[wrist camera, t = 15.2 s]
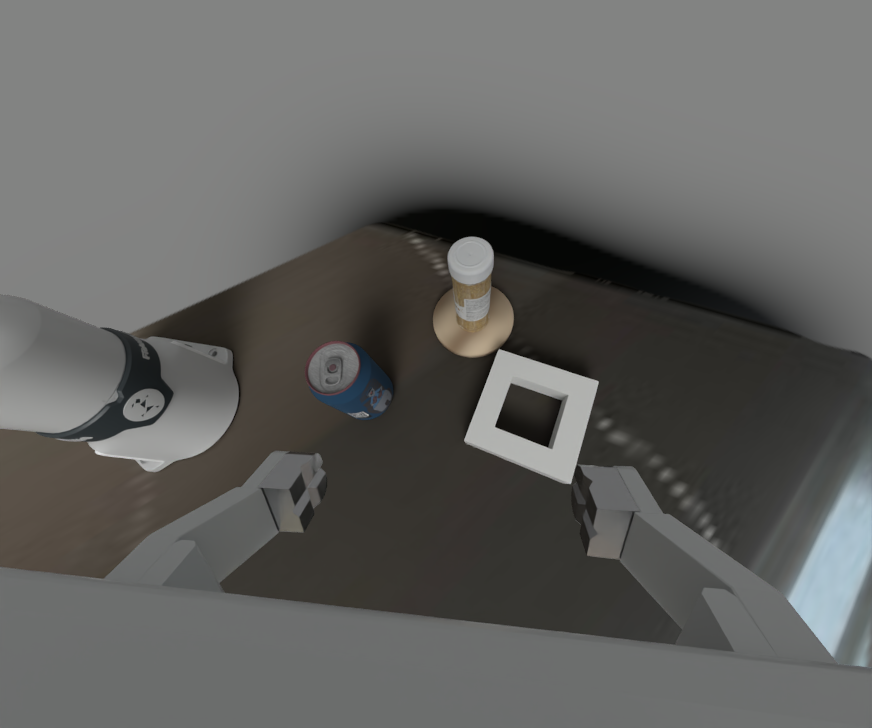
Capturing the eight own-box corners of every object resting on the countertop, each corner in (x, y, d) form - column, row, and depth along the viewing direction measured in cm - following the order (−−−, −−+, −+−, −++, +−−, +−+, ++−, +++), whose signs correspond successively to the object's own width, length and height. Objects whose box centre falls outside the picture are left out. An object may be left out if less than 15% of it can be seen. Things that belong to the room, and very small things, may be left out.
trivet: (422, 342, 44) (420, 339, 43) (451, 279, 47) (450, 274, 46) (497, 368, 41) (497, 365, 40) (523, 299, 44) (524, 294, 43)
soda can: (347, 373, 44) (302, 338, 33) (395, 369, 43) (366, 331, 32) (344, 423, 42) (295, 403, 30) (396, 419, 41) (364, 397, 30)
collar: (465, 442, 39) (464, 440, 36) (497, 357, 42) (498, 349, 39) (563, 483, 36) (570, 484, 33) (590, 388, 39) (598, 381, 36)
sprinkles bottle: (454, 307, 44) (443, 239, 31) (486, 301, 44) (489, 230, 31) (458, 336, 42) (450, 277, 30) (492, 330, 42) (498, 268, 30)
